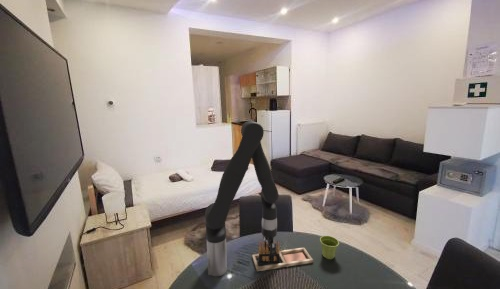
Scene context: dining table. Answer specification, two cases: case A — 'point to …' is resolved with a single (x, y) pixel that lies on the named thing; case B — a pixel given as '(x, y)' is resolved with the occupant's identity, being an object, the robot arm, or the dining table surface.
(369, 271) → the dining table surface
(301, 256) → the wooden double frame
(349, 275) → the dining table surface
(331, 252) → the plant pot
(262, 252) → the ammunition clip
